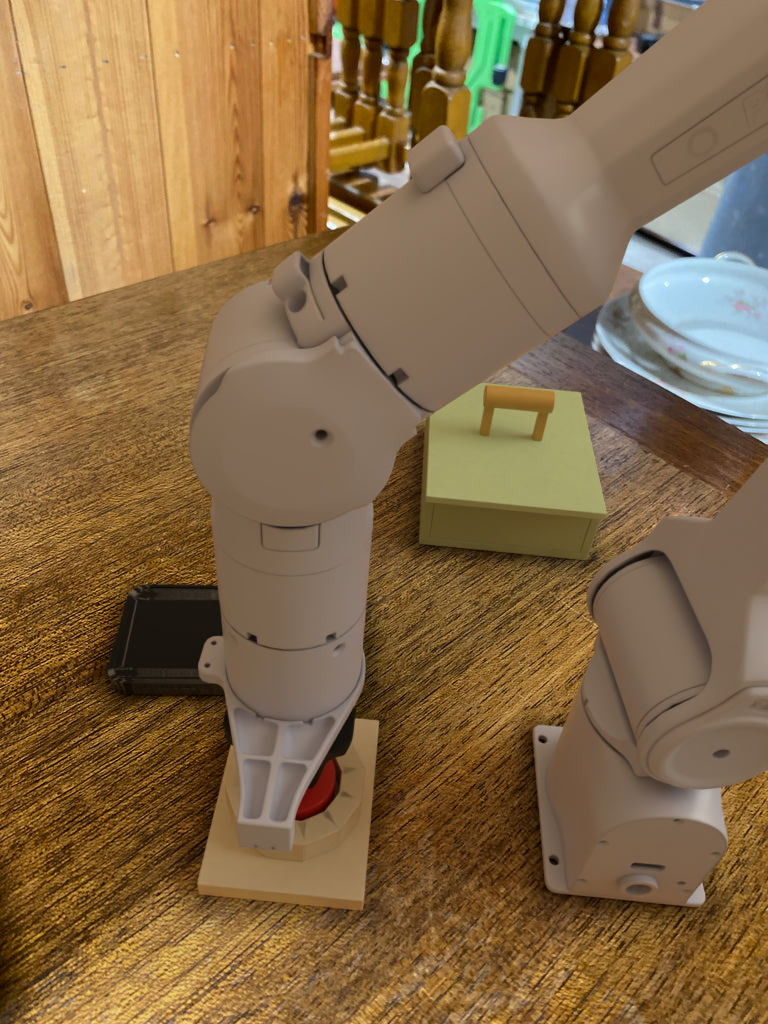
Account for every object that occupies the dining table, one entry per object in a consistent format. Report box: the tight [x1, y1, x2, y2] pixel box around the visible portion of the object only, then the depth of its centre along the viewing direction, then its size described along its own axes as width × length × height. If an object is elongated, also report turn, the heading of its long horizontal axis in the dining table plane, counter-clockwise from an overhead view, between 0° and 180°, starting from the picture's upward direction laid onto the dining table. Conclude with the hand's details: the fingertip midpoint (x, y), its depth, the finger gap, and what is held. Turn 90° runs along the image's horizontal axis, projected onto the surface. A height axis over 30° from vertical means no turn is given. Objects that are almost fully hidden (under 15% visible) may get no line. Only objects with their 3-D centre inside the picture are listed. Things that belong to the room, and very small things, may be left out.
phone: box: [107, 583, 225, 696], centre depth 49 cm, size 8×1×15 cm
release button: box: [295, 759, 336, 821], centre depth 40 cm, size 4×4×2 cm
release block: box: [196, 717, 380, 912], centre depth 41 cm, size 10×8×3 cm
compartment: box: [418, 417, 601, 561], centre depth 61 cm, size 14×12×5 cm
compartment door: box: [425, 382, 608, 521], centre depth 58 cm, size 15×12×5 cm
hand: (295, 774), depth 39 cm, fingers closed, pressing on release button
